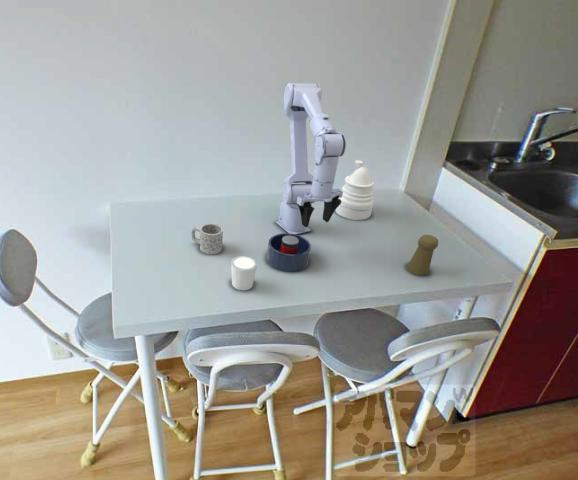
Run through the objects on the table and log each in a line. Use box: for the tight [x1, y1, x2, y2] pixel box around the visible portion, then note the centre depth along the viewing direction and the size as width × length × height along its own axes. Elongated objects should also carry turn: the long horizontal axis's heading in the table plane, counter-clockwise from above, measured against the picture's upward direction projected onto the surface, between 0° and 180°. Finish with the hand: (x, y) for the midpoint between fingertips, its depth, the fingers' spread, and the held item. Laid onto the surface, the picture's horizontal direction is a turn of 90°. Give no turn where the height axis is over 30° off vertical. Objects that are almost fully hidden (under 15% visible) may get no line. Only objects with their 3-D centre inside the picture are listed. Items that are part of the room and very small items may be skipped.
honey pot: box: [334, 159, 375, 221], centre depth 147 cm, size 13×13×18 cm
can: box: [280, 236, 299, 255], centre depth 122 cm, size 5×5×6 cm
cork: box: [406, 234, 439, 277], centre depth 121 cm, size 6×6×11 cm
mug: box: [191, 223, 224, 255], centre depth 126 cm, size 10×7×7 cm, turn 65°
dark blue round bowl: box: [266, 232, 312, 273], centre depth 123 cm, size 12×12×6 cm
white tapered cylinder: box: [230, 255, 258, 291], centre depth 112 cm, size 7×7×7 cm
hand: (315, 223), depth 123 cm, fingers open, 7 cm apart
